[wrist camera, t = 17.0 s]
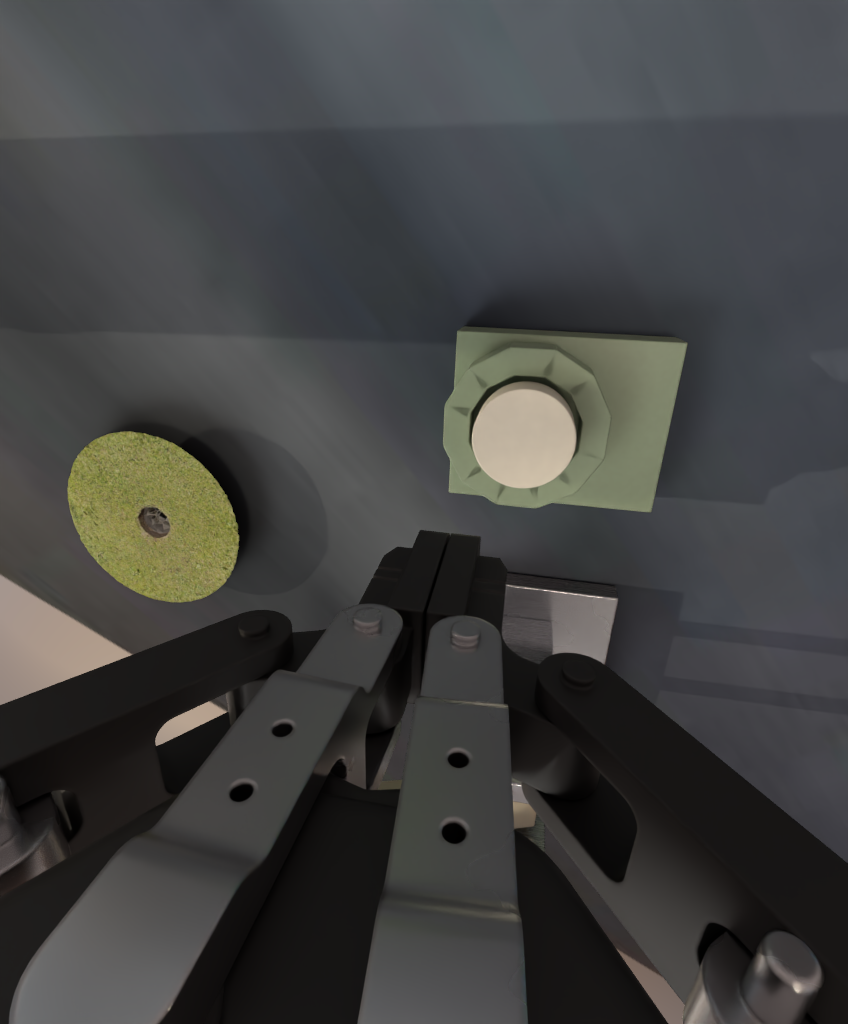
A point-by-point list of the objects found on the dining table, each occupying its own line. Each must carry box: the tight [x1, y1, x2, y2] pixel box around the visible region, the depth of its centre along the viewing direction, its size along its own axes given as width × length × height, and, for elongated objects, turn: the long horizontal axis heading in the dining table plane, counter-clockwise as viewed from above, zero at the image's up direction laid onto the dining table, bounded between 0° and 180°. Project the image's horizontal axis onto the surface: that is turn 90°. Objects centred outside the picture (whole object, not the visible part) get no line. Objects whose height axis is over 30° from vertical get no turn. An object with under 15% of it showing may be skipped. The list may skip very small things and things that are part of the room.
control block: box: [443, 326, 688, 512], centre depth 26 cm, size 10×8×4 cm
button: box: [472, 381, 577, 488], centre depth 24 cm, size 4×4×2 cm
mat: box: [67, 431, 239, 602], centre depth 34 cm, size 11×11×2 cm
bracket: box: [502, 573, 619, 852], centre depth 28 cm, size 11×9×13 cm
